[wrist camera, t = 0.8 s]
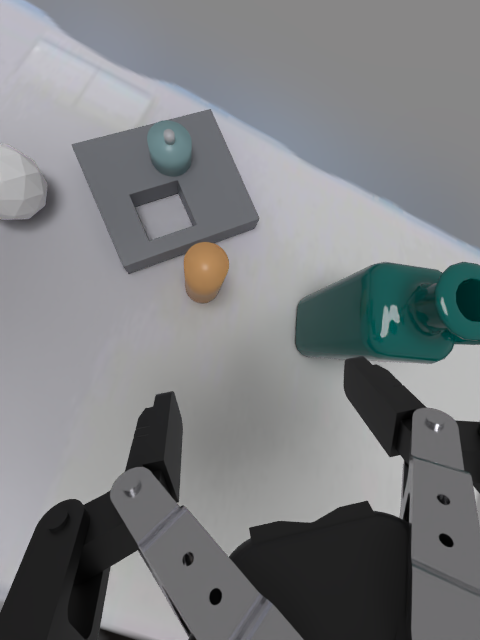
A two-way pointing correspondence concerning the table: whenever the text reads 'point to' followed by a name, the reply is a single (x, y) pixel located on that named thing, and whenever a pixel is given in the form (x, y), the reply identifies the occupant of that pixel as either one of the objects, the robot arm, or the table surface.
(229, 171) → the block
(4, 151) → the ball
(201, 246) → the orange capsule
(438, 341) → the pitcher
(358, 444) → the table surface
